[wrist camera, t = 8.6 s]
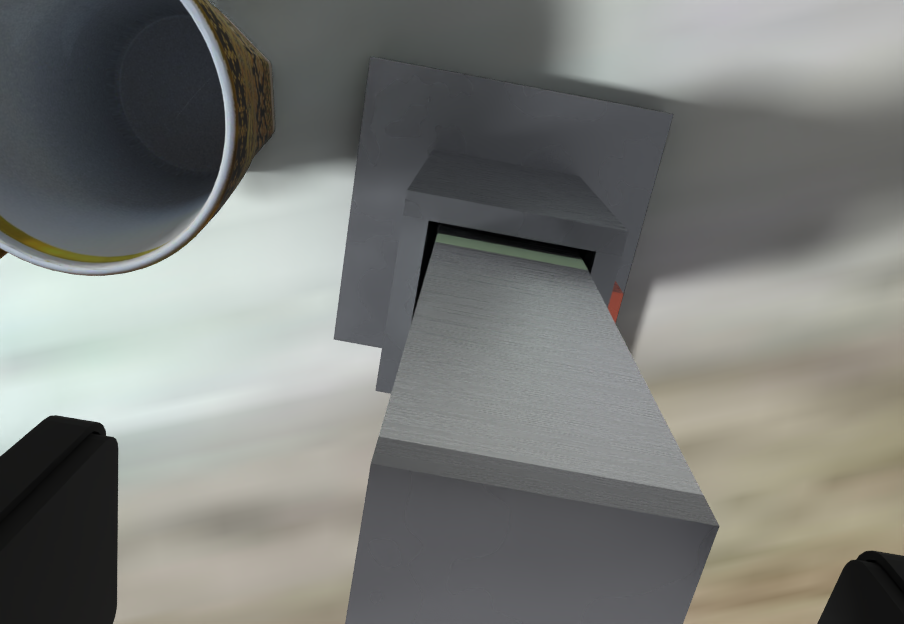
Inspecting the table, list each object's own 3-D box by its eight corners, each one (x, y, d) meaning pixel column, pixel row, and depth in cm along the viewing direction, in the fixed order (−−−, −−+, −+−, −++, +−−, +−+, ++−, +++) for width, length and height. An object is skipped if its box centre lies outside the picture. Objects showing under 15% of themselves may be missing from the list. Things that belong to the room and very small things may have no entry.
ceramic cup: (182, -97, 26) (14, -191, 17) (367, 100, 29) (309, 115, 19) (-4, 140, 30) (-230, 172, 20) (174, 300, 32) (43, 397, 22)
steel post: (446, 202, 23) (370, 463, 8) (564, 224, 23) (719, 525, 8) (426, 313, 24) (329, 721, 9) (538, 334, 24) (626, 772, 9)
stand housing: (376, 57, 28) (306, 49, 17) (663, 112, 28) (776, 138, 17) (340, 327, 32) (266, 459, 21) (592, 373, 32) (647, 527, 21)
